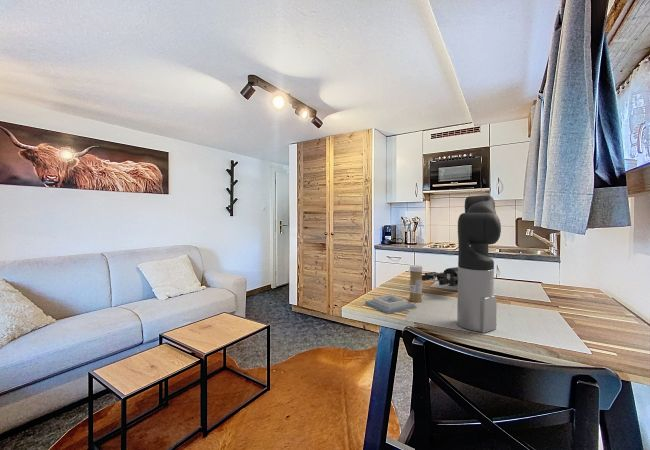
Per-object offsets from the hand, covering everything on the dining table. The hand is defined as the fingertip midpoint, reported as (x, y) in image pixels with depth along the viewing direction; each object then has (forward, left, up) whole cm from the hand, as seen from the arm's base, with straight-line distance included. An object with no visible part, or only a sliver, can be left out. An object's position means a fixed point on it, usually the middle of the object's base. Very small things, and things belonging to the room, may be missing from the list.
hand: (430, 280), depth 110 cm
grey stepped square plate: (0, +21, -7) cm, 22 cm away
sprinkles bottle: (0, +8, -7) cm, 11 cm away
